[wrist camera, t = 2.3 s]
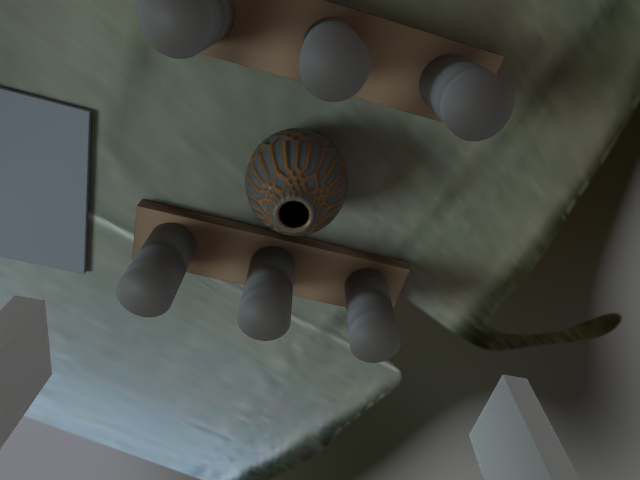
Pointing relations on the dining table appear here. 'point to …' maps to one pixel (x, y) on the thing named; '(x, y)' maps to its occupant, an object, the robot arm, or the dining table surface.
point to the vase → (296, 182)
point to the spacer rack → (330, 85)
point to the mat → (44, 180)
